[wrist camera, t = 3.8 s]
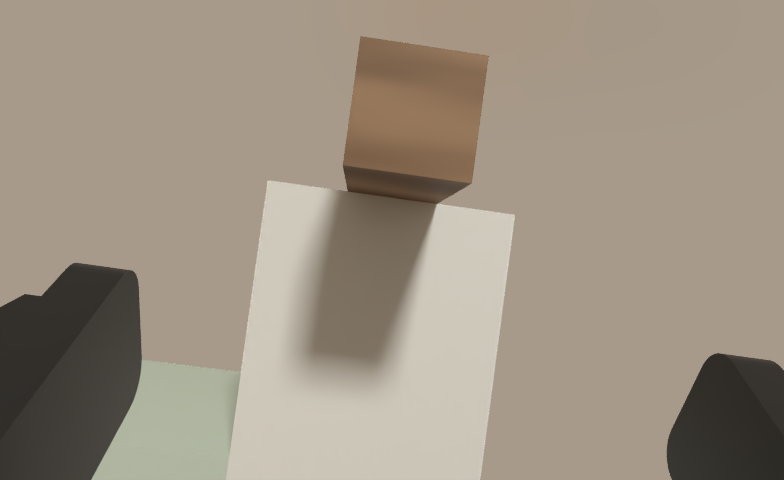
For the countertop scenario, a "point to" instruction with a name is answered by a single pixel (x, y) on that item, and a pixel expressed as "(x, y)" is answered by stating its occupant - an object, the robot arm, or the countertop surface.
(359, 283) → the stepped stand
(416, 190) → the walnut block
